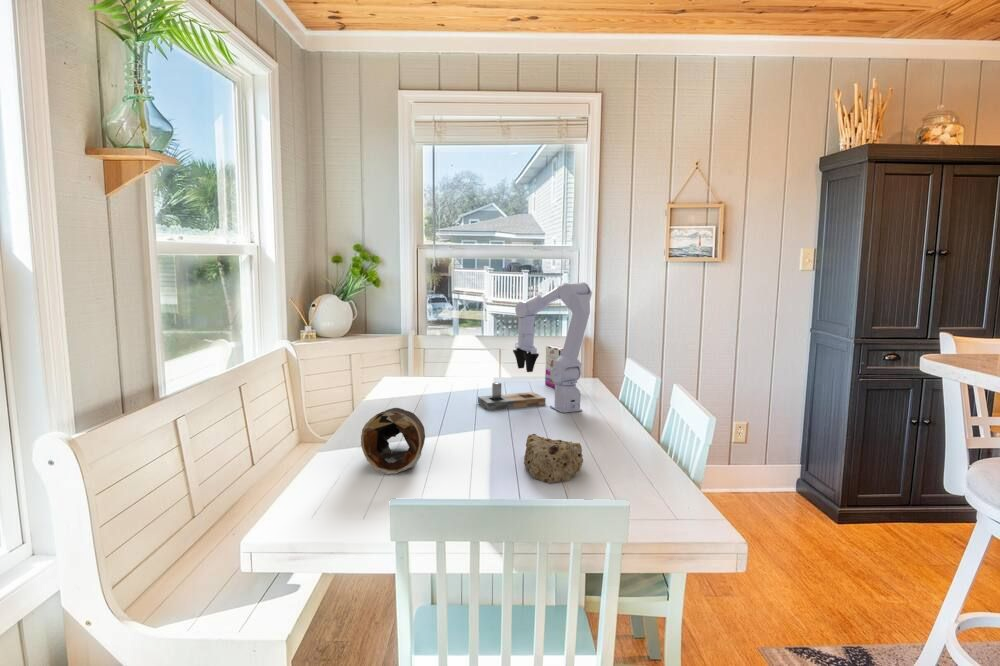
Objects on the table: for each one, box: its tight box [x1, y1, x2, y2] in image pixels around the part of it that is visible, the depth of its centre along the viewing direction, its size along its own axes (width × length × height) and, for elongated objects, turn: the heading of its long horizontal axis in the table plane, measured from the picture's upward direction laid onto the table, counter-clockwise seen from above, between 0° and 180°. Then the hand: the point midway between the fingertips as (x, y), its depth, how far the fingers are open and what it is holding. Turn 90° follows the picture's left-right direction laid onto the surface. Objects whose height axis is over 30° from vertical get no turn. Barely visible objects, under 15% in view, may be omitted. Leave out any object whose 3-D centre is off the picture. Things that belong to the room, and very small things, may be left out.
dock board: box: [477, 391, 546, 411], centre depth 213 cm, size 10×22×2 cm, turn 113°
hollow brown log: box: [360, 407, 426, 475], centre depth 155 cm, size 15×15×25 cm
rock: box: [523, 433, 584, 484], centre depth 148 cm, size 21×14×10 cm
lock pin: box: [491, 382, 502, 401], centre depth 211 cm, size 3×3×8 cm
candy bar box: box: [544, 345, 564, 389], centre depth 242 cm, size 11×5×16 cm, turn 25°
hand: (525, 370), depth 223 cm, fingers open, 7 cm apart
